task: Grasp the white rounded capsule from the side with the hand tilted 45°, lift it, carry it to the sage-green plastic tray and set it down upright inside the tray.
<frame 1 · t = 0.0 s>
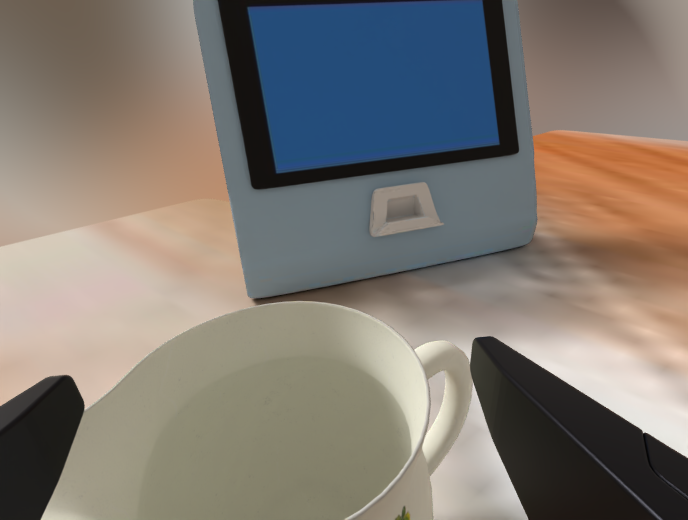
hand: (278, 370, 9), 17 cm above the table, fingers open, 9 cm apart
touchscreen device: (378, 248, 53), on the table
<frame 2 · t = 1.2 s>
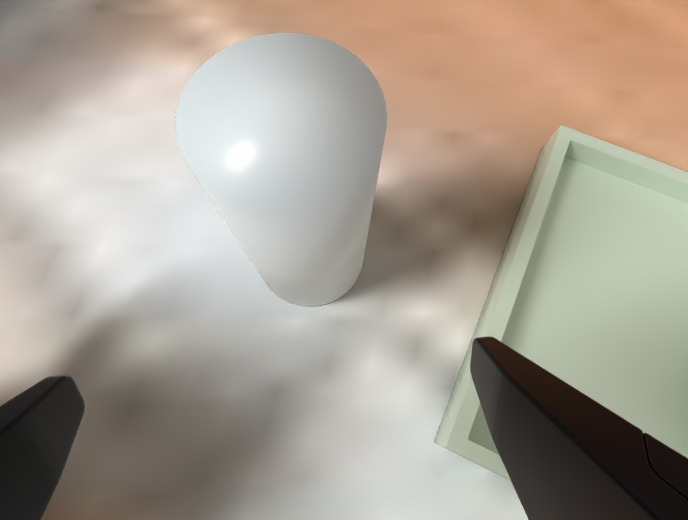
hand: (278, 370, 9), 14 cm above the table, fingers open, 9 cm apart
tray: (592, 320, 23), on the table
white rounded capsule: (311, 255, 25), on the table
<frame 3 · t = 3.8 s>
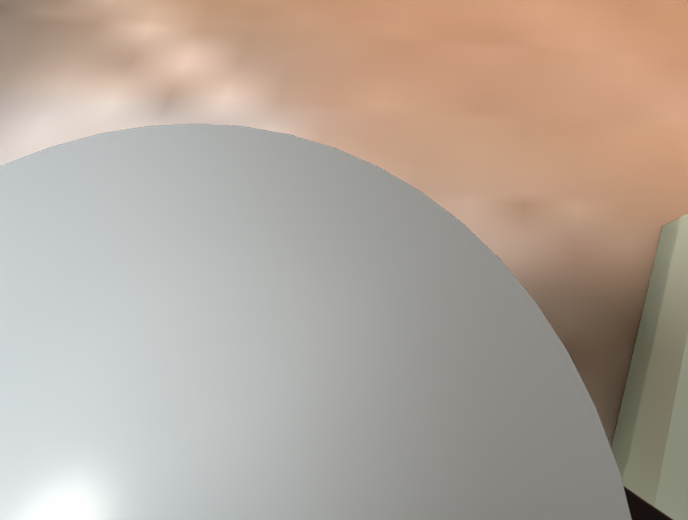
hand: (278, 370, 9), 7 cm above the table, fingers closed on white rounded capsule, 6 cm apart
white rounded capsule: (305, 417, 15), on the table, touching gripper
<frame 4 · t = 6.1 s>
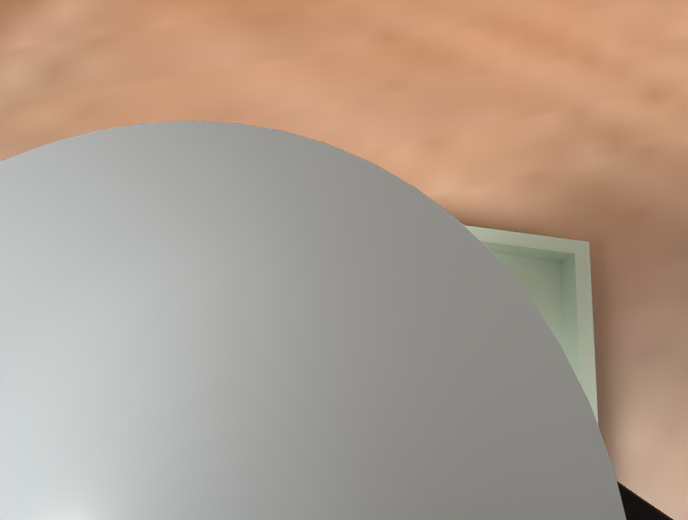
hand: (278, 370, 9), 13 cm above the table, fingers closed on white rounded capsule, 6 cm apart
tray: (455, 418, 21), on the table
white rounded capsule: (304, 416, 15), point 7 cm above the table, touching gripper
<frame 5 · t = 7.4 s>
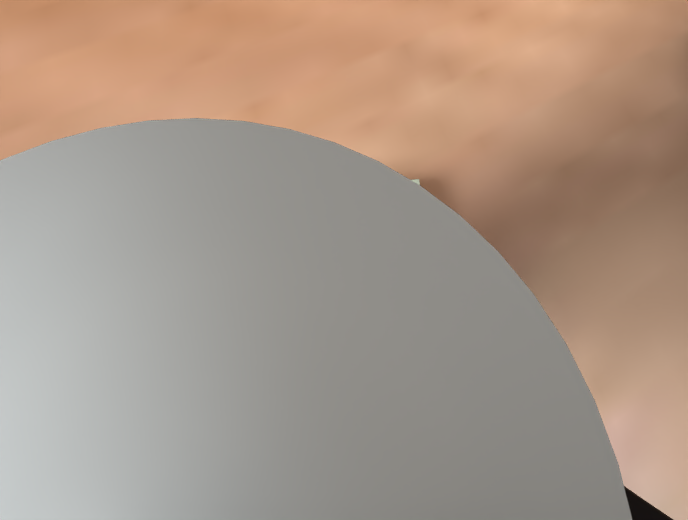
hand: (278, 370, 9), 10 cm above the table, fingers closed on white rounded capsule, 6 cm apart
white rounded capsule: (305, 416, 15), point 4 cm above the table, touching gripper
when the fingers open (9 cm above the table, at t = 8.2 s): white rounded capsule drops 1 cm, resting on tray.
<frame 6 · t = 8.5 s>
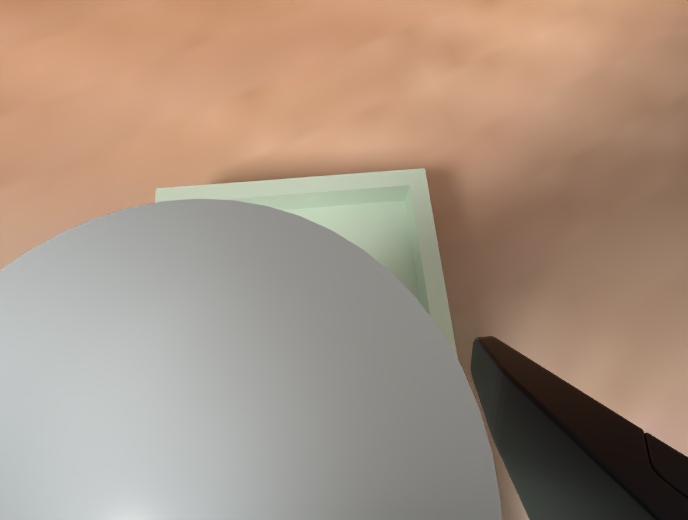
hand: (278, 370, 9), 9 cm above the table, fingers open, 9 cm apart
tray: (310, 413, 17), on the table
white rounded capsule: (309, 417, 16), point 1 cm above the table, touching tray
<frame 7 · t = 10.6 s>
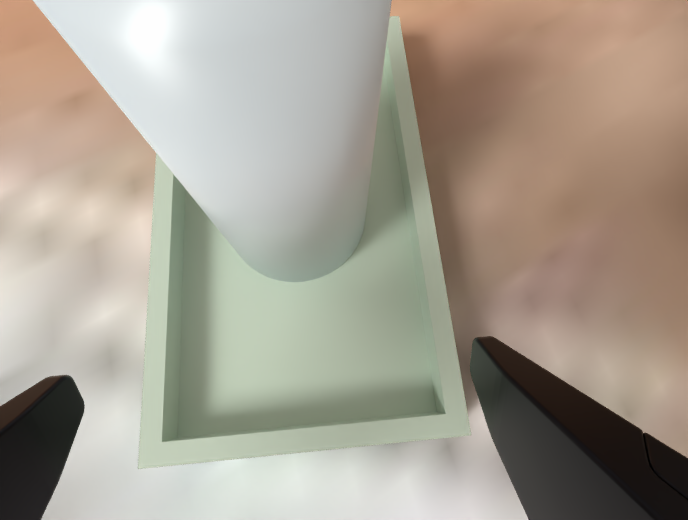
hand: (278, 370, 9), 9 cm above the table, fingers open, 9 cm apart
tray: (298, 223, 20), on the table
white rounded capsule: (296, 215, 19), point 1 cm above the table, touching tray
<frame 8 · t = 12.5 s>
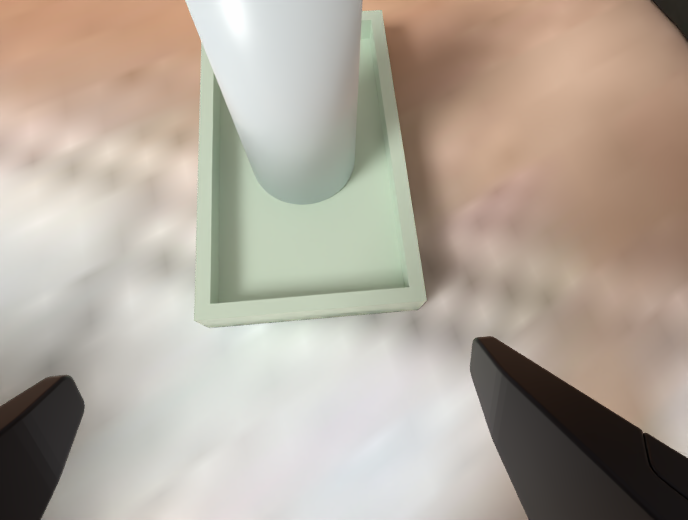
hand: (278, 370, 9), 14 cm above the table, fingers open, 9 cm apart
tray: (304, 166, 26), on the table
white rounded capsule: (303, 158, 25), point 1 cm above the table, touching tray
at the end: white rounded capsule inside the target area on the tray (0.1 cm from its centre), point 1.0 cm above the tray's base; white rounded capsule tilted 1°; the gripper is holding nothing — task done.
